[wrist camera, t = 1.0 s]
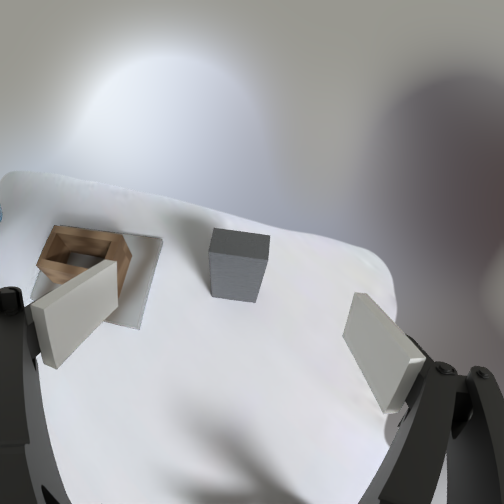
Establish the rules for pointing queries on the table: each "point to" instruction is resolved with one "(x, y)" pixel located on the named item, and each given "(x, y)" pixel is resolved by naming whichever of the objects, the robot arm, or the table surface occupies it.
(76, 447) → the table surface
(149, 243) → the post slot
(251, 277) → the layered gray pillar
